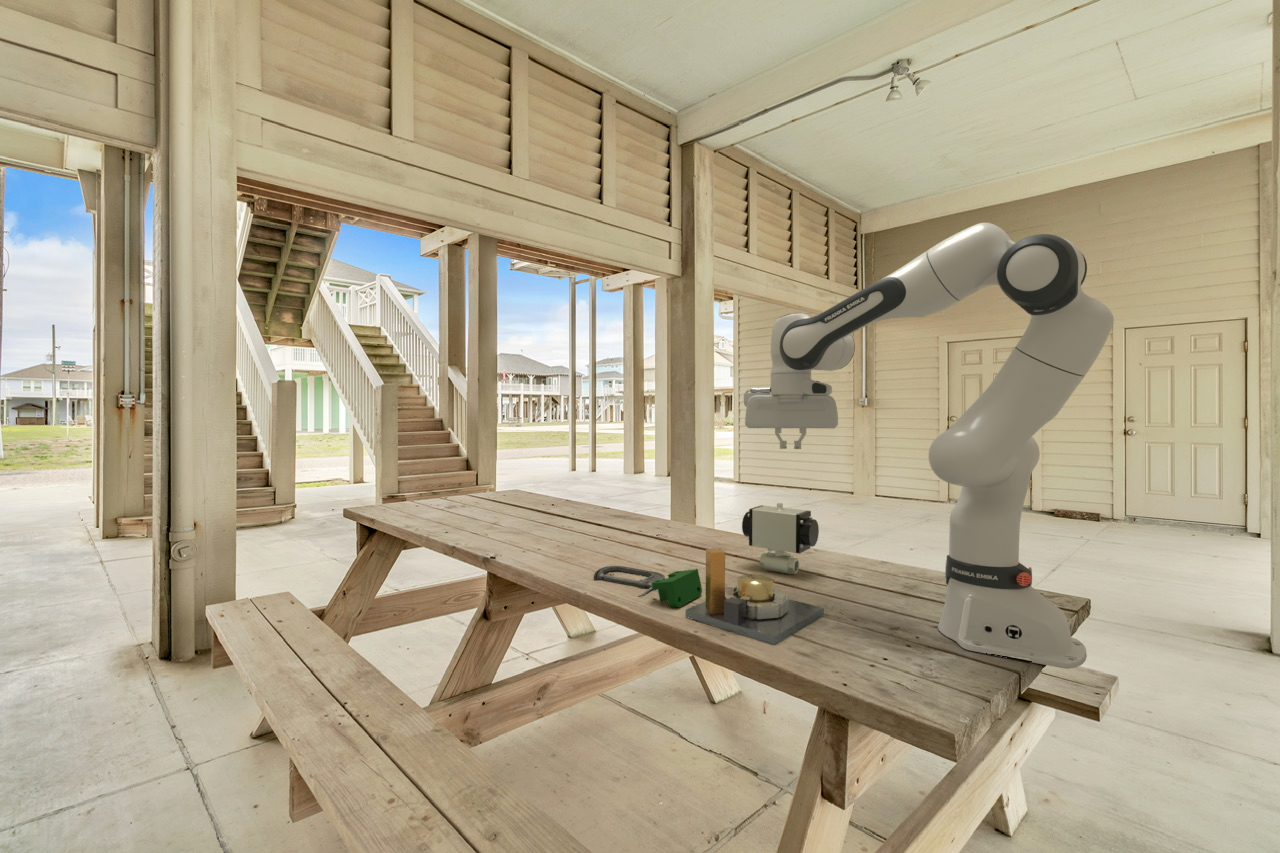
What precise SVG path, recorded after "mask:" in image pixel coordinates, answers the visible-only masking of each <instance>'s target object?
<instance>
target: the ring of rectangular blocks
mask: <svg viewBox="0 0 1280 853" xmlns="http://www.w3.org/2000/svg"><path fill="white" fill-rule="evenodd" d="M731 597H735V598H738V585H734V584H728V585H726V551H725V550H723V549H721V548H706V549H705V601H706V609H707V610H708V612H709V613H710V614H712V613H724V601H725V600H727V599H729V598H731ZM739 599H744V600H746V617H747V618H751V619H754V618H757V619H767V618H779V616H780V617H782V616H783V615H784V614H785V613H786V612H787V611H788V610H789V599H790V598H789V596H788V595H787V594H785V593H783V592H782V591H780V590H777V588H773V602H765V603H752V602H751V597H746V596H742V597H741V598H739Z"/></svg>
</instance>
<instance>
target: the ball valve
mask: <svg viewBox="0 0 1280 853" xmlns="http://www.w3.org/2000/svg"><path fill="white" fill-rule="evenodd" d="M783 505H784V504H783V502H777V503H776V506H770V505H769V506H768V505H764V504H763V505H762V504H761V505H758V506H757V505H756V506H755V507H751V508H749V509H748V511H746V512H745V514H744V515H743V518H742V522H741V531H742V534H743V536H744V537H747V540H748V546H750V547H756V548H763V549H767V553H765V552H764V553H762V554H761V555H760V557H759V566H760V568H761V569H765V571H768V570H769V572H774V573H779V572H780V573H781V574H784V573H785V575H790V574H791V573H792V574H791V575H794V574H797V573H798V572H799V568H800V560H799V558H798V557H796V558H795V557H794V556H793V555H791V553H793V554H799V555H800V554H802V553H804V552H806V551H808V550H810V549H811V548H813V547H815V546H816V544H817V542H818V539H819V533H820V532H819V530H820V528H819V527H820V526H819V523H818V521H817V519H815V518H813V517H812V511H811V510H807V509H798V508H787V507H784V506H783ZM772 551H774V552H772ZM780 573H779V574H780Z"/></svg>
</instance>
